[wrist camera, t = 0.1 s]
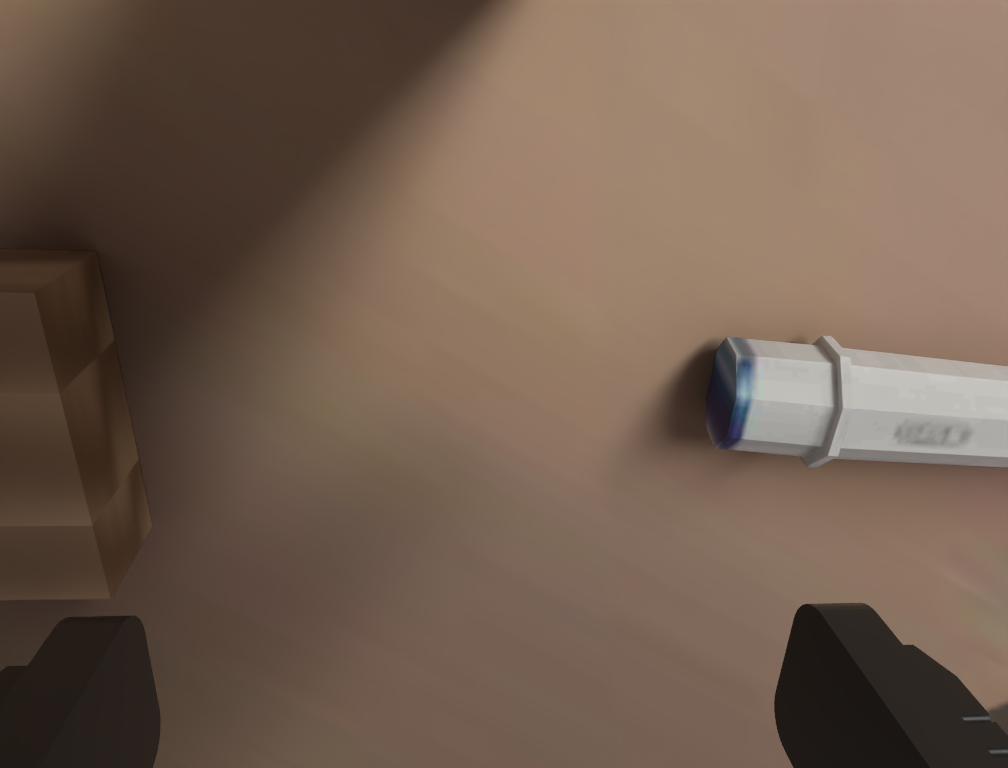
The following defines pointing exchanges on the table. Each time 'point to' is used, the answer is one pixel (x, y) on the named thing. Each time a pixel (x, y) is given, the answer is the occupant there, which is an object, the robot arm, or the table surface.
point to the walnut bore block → (63, 434)
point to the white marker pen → (856, 404)
